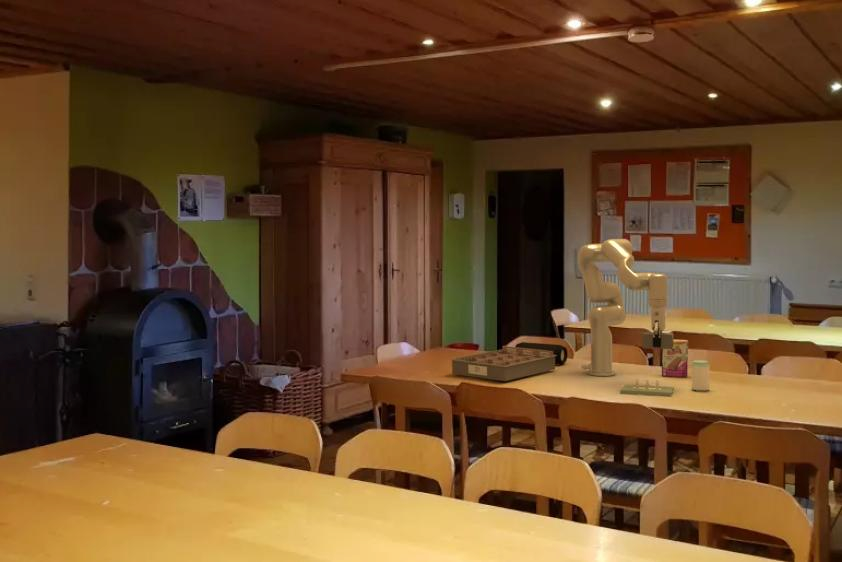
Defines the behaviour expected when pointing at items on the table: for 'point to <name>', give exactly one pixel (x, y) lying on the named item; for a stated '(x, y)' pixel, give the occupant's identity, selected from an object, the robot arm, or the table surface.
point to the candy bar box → (675, 359)
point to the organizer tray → (505, 363)
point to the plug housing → (665, 340)
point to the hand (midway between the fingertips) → (657, 345)
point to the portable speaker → (556, 349)
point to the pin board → (647, 389)
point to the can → (700, 375)
